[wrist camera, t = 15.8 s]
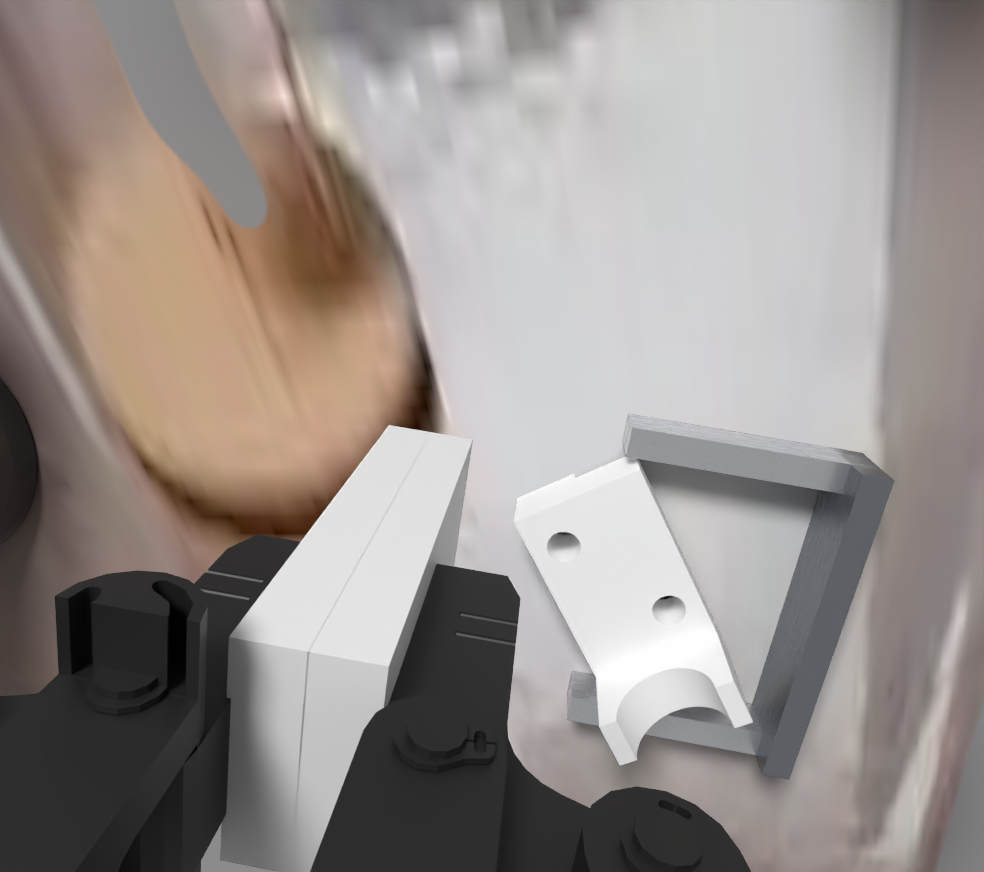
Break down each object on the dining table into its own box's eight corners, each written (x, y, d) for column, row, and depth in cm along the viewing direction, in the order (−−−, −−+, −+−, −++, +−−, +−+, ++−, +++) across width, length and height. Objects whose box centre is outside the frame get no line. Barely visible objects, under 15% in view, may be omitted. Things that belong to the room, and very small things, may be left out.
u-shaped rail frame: (567, 692, 45) (567, 738, 42) (628, 413, 39) (635, 436, 36) (769, 730, 45) (789, 779, 41) (862, 452, 39) (894, 480, 35)
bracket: (722, 635, 43) (753, 722, 36) (611, 674, 45) (620, 765, 38) (633, 446, 40) (648, 501, 33) (517, 496, 42) (508, 558, 35)
